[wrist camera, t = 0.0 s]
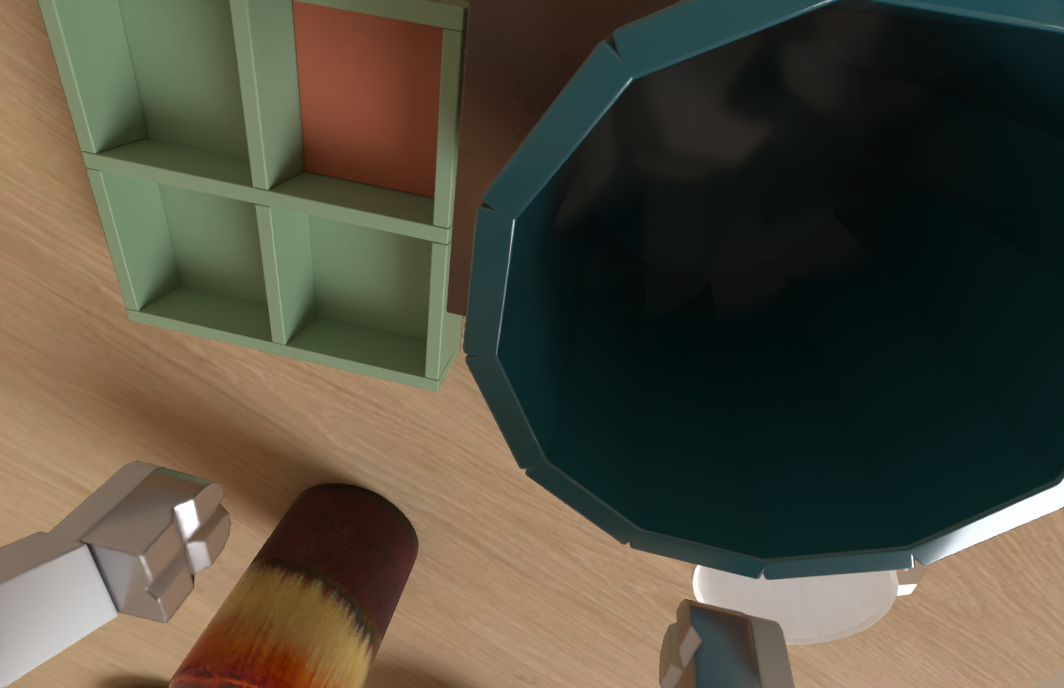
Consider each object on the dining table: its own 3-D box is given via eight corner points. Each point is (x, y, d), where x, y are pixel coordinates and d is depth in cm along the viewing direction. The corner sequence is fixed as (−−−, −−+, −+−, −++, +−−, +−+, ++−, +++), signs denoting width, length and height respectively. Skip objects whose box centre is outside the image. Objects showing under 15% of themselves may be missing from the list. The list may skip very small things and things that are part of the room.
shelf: (575, -126, 22) (486, -259, 10) (891, -74, 21) (1193, -155, 9) (530, 180, 28) (445, 313, 17) (770, 229, 28) (857, 404, 16)
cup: (602, -52, 11) (507, -133, 4) (936, 5, 11) (1553, 36, 3) (549, 248, 15) (447, 504, 8) (799, 300, 15) (956, 630, 7)
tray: (103, -66, 26) (15, -75, 22) (491, 5, 25) (464, 7, 21) (180, 287, 36) (128, 320, 32) (459, 350, 35) (437, 392, 31)
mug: (661, 481, 37) (664, 610, 30) (721, 376, 32) (743, 498, 25) (836, 537, 37) (885, 682, 29) (922, 440, 32) (1009, 583, 24)
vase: (284, 541, 49) (86, 837, 32) (304, 462, 43) (75, 774, 26) (399, 590, 49) (267, 905, 32) (436, 519, 43) (297, 858, 26)
